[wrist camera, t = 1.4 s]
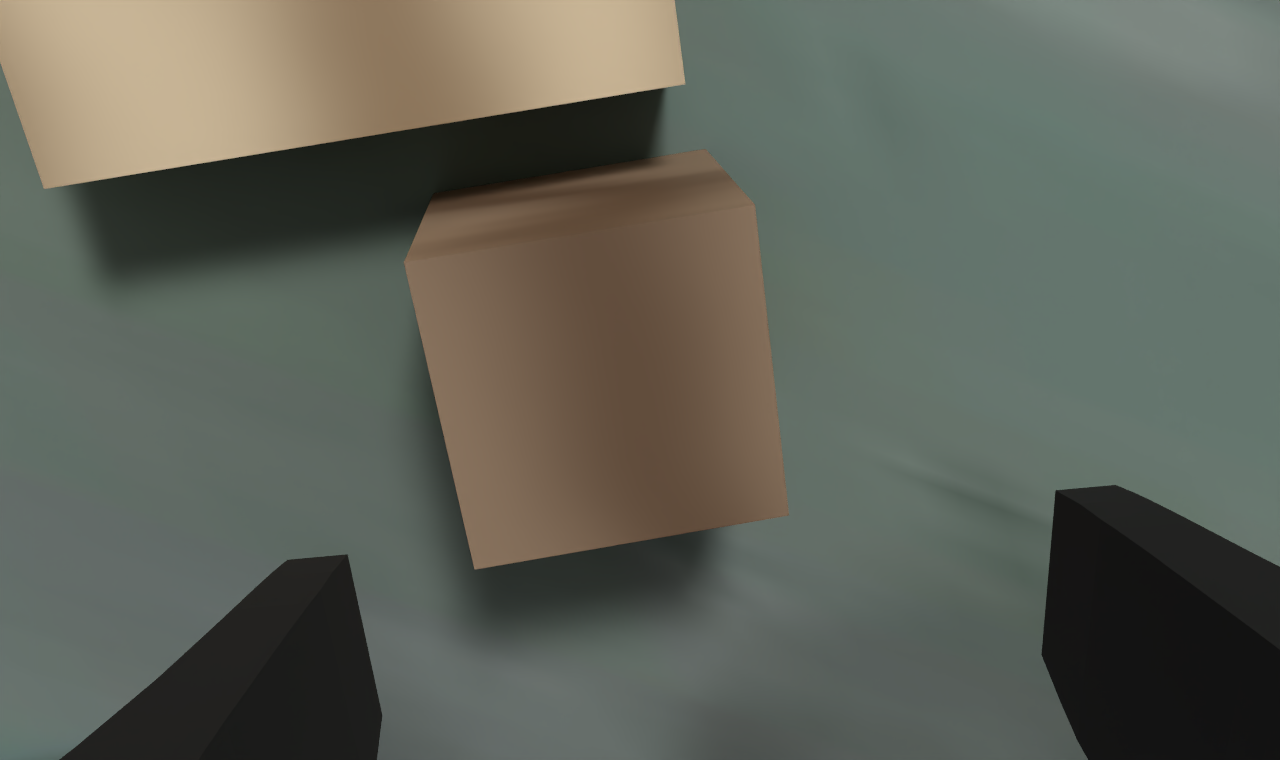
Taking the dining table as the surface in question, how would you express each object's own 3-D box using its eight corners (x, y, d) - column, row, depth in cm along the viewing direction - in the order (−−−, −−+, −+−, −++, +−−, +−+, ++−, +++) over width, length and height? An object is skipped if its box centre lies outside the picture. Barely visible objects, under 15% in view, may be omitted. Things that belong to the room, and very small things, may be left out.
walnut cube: (487, 440, 22) (474, 569, 18) (433, 192, 20) (403, 262, 16) (735, 398, 22) (788, 515, 18) (705, 148, 20) (754, 204, 16)
